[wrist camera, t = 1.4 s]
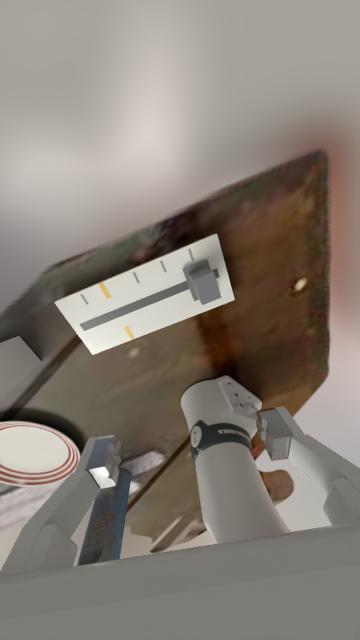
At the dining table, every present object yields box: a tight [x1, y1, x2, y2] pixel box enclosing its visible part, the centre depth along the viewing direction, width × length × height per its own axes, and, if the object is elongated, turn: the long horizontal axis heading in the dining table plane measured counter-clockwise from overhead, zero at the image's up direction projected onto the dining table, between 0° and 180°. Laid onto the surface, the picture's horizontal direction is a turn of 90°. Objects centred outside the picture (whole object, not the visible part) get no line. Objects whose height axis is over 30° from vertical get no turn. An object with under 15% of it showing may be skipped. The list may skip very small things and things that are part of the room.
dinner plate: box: [0, 421, 81, 487], centre depth 48 cm, size 27×27×3 cm
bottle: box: [77, 469, 131, 566], centre depth 44 cm, size 10×10×30 cm
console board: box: [54, 234, 235, 355], centre depth 33 cm, size 30×12×3 cm, turn 111°
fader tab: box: [182, 259, 221, 305], centre depth 28 cm, size 4×6×6 cm
